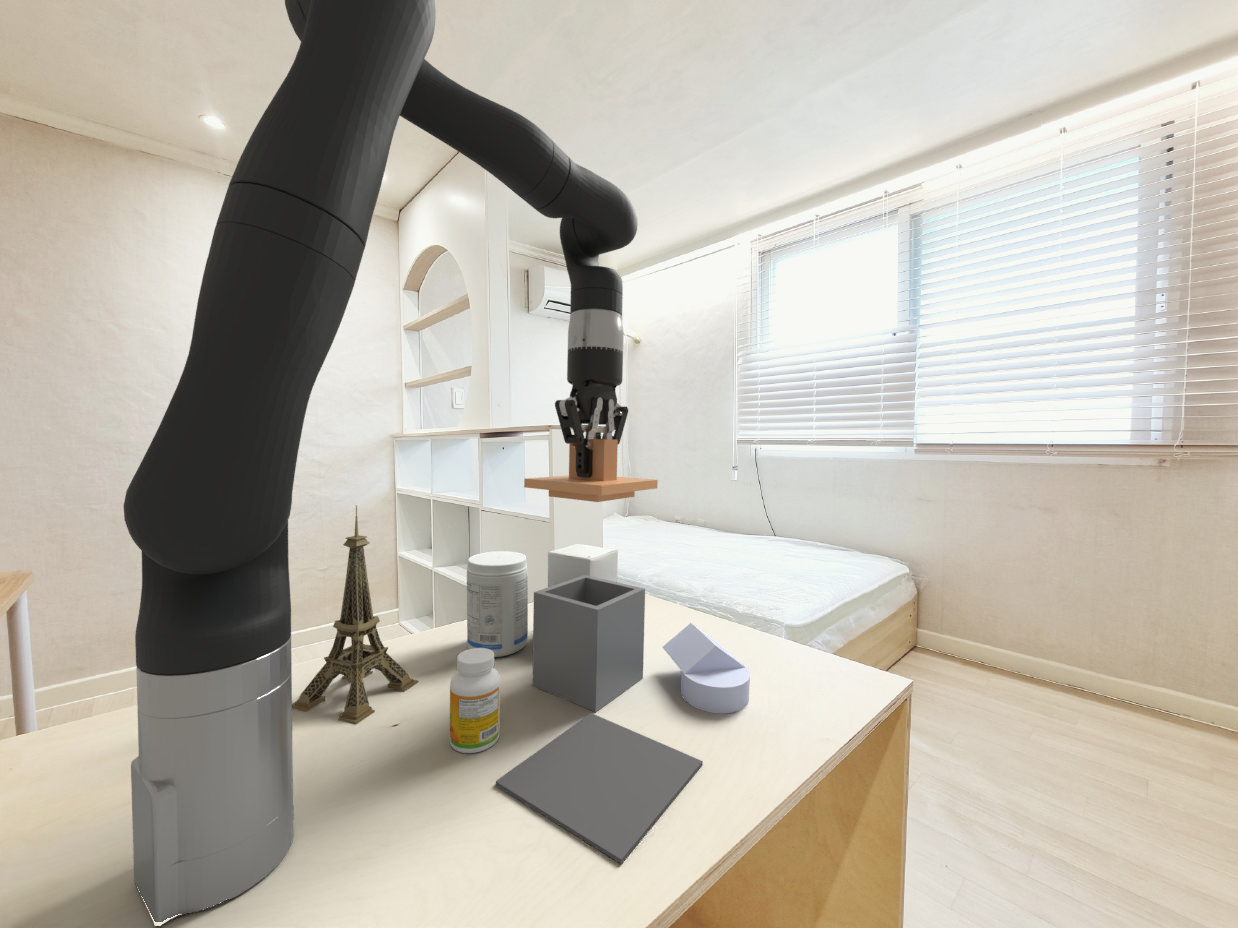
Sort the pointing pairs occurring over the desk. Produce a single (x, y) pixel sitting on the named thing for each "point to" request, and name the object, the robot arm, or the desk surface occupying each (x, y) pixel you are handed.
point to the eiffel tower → (355, 645)
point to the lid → (593, 478)
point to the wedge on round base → (708, 672)
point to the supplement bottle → (474, 702)
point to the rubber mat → (602, 783)
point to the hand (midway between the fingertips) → (592, 475)
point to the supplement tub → (497, 602)
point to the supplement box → (581, 563)
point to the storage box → (588, 640)
